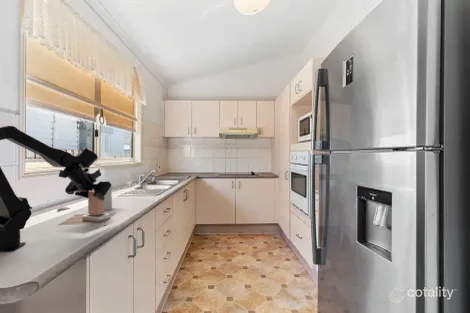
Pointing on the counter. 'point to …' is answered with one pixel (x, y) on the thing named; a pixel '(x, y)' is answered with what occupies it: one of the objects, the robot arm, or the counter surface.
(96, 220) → the steel collar
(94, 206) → the terracotta upright block
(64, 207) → the soupspoon
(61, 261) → the counter surface
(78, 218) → the walnut board
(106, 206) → the skincare box
